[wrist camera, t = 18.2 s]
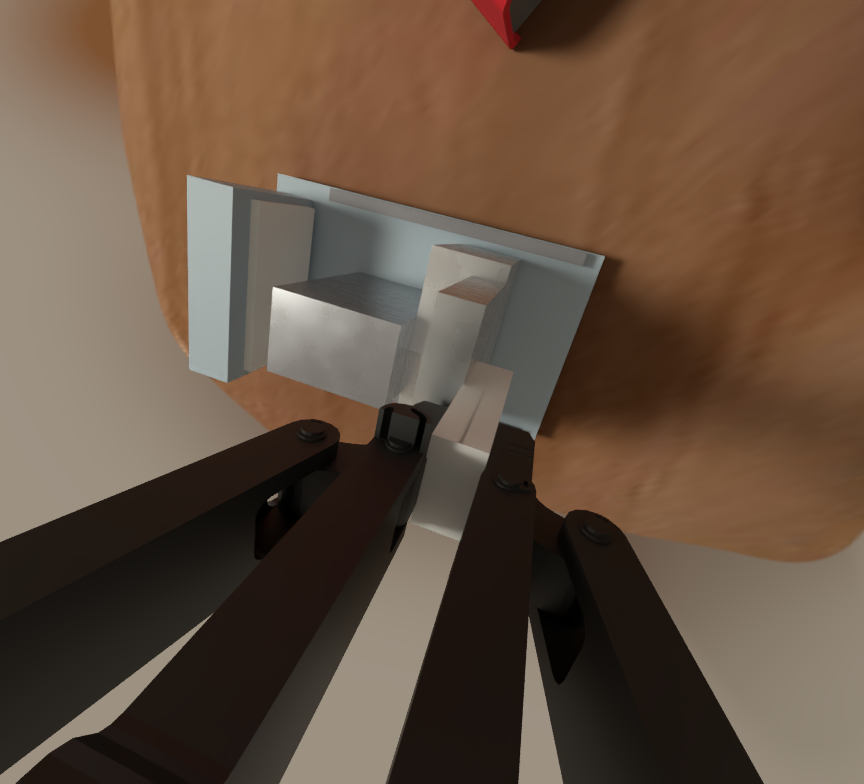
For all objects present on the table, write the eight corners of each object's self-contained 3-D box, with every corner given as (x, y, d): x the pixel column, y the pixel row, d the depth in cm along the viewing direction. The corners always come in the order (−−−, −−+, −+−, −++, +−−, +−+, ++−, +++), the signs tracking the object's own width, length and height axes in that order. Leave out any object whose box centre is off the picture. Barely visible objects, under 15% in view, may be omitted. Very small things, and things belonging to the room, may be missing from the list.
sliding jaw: (461, 243, 23) (379, 247, 12) (520, 259, 23) (493, 278, 12) (425, 392, 27) (337, 501, 16) (475, 408, 27) (421, 533, 15)
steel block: (359, 271, 26) (272, 286, 18) (449, 297, 25) (401, 325, 17) (350, 331, 27) (266, 370, 19) (434, 357, 26) (383, 410, 18)
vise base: (291, 176, 26) (186, 150, 19) (601, 255, 23) (627, 263, 16) (278, 349, 31) (189, 385, 23) (533, 433, 28) (528, 506, 20)
